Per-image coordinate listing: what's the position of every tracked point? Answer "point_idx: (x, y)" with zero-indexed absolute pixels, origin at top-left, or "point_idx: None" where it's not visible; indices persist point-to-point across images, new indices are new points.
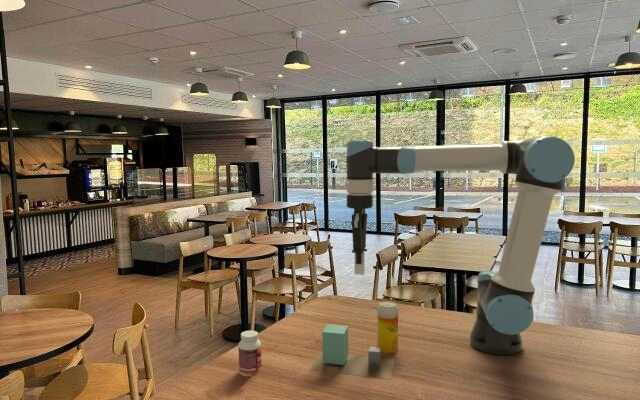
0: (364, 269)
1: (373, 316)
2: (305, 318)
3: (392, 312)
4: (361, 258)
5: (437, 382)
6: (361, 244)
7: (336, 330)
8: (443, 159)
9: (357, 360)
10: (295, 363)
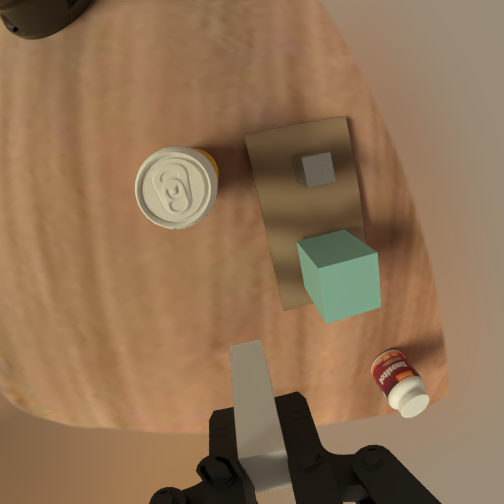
0: (231, 361)
1: (24, 293)
2: (128, 409)
3: (204, 156)
4: (284, 423)
5: (289, 31)
6: (419, 494)
7: (361, 281)
8: None
9: (292, 216)
10: (336, 327)
